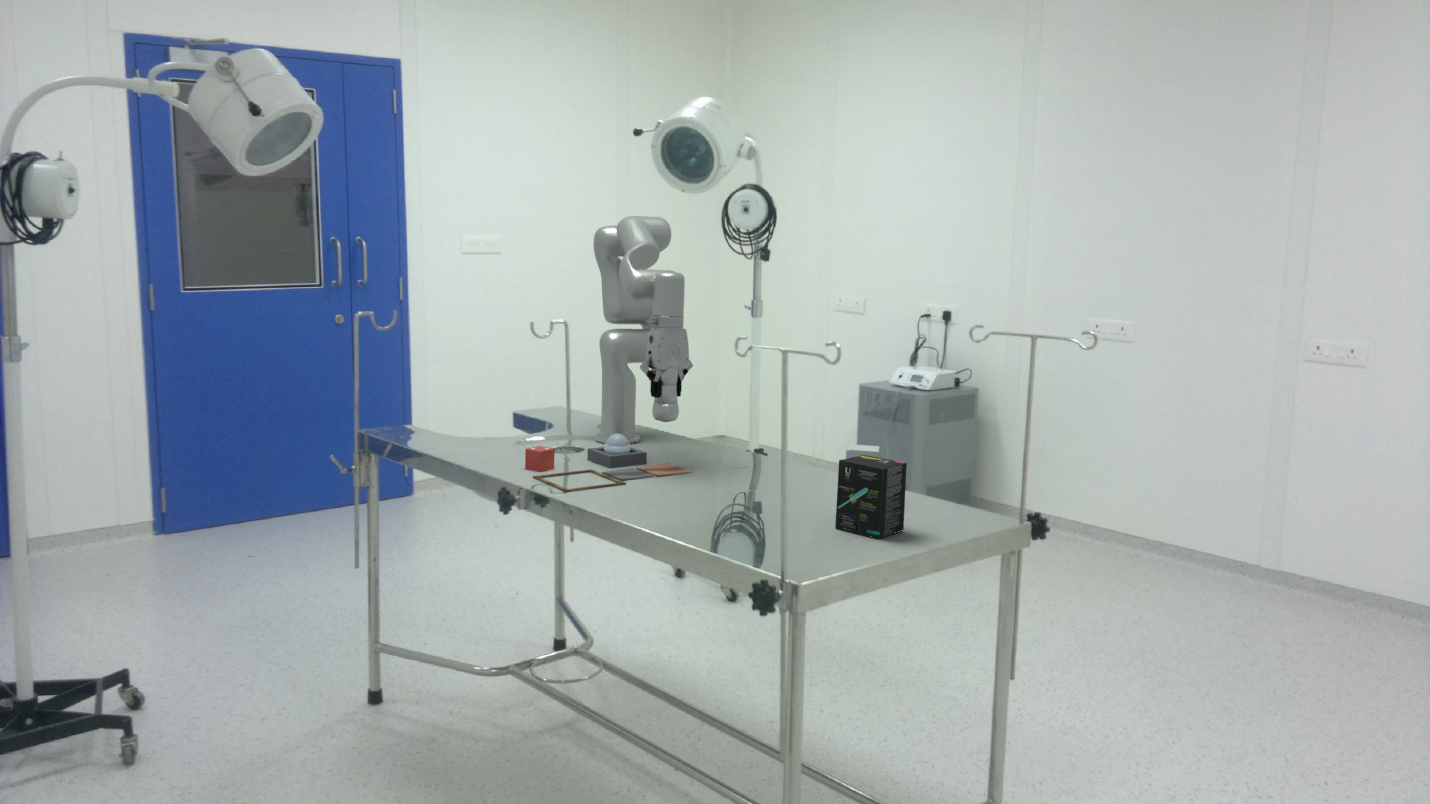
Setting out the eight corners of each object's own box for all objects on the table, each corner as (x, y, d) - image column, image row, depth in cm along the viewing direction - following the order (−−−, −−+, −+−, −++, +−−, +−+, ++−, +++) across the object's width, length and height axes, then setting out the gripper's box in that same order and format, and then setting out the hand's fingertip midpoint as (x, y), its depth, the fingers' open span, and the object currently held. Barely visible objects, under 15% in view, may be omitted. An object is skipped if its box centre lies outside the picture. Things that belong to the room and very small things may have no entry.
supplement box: (875, 507, 237) (878, 451, 235) (842, 504, 238) (845, 449, 237) (877, 499, 244) (880, 445, 242) (844, 496, 246) (848, 443, 244)
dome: (598, 455, 274) (599, 432, 273) (621, 453, 278) (621, 430, 277) (612, 460, 268) (613, 437, 267) (635, 457, 272) (635, 434, 272)
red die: (525, 468, 262) (525, 448, 261) (539, 465, 266) (539, 445, 265) (540, 471, 259) (540, 451, 258) (554, 468, 263) (554, 448, 262)
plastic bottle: (667, 424, 259) (669, 343, 256) (646, 421, 263) (648, 340, 260) (684, 421, 264) (686, 341, 261) (663, 418, 268) (665, 339, 265)
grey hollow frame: (587, 459, 274) (587, 448, 274) (623, 455, 281) (624, 444, 280) (609, 468, 266) (609, 456, 265) (646, 463, 272) (646, 452, 272)
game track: (532, 477, 253) (532, 476, 252) (662, 462, 275) (662, 461, 274) (565, 492, 240) (565, 490, 240) (698, 475, 262) (698, 473, 262)
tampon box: (904, 531, 218) (908, 462, 216) (879, 540, 211) (883, 468, 209) (859, 521, 225) (863, 453, 223) (834, 528, 218) (837, 459, 216)
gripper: (646, 325, 251) (644, 400, 254) (705, 323, 262) (702, 396, 264) (630, 322, 257) (628, 396, 260) (687, 321, 268) (685, 392, 270)
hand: (665, 395), depth 262 cm, fingers closed on plastic bottle, 5 cm apart
